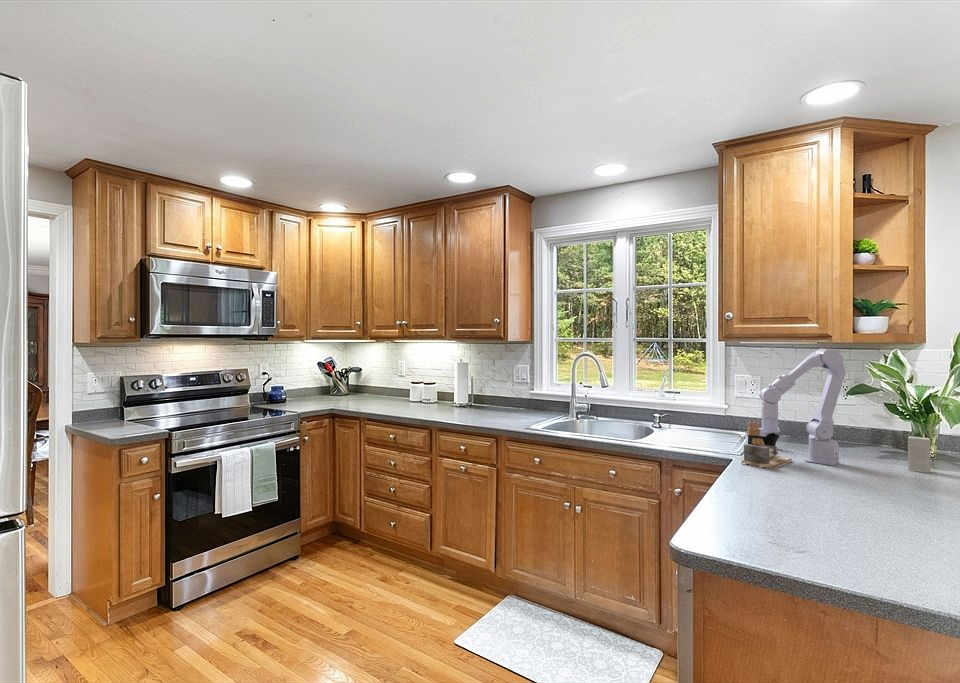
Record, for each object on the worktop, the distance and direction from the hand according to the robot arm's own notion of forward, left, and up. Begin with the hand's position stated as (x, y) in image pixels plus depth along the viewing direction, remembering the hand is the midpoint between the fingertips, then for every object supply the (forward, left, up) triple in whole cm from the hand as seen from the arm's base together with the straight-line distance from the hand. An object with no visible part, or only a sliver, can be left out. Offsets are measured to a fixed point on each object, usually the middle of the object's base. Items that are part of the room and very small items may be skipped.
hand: (769, 452), depth 204 cm
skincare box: (-42, -22, -3) cm, 47 cm away
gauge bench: (-1, +6, -3) cm, 7 cm away
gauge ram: (-1, +5, 0) cm, 5 cm away
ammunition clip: (+12, -23, -3) cm, 26 cm away
